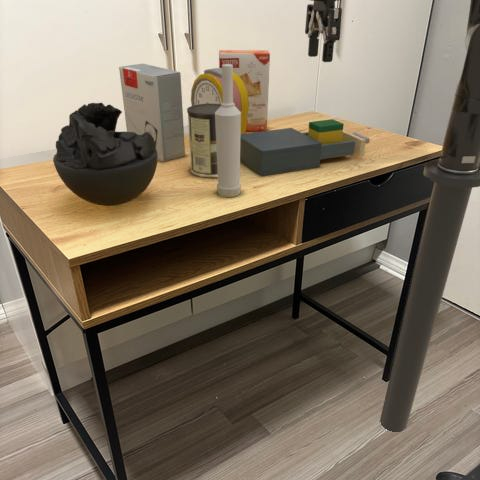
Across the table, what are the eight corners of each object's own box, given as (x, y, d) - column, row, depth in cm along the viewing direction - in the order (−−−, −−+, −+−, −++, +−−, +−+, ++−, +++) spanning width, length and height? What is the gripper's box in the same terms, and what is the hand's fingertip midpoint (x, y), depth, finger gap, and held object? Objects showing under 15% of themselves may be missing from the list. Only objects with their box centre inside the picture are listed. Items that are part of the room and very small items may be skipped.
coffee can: (234, 164, 125) (234, 103, 117) (231, 178, 117) (231, 114, 109) (193, 163, 126) (190, 102, 118) (187, 177, 118) (183, 113, 109)
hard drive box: (127, 149, 135) (117, 66, 124) (151, 143, 140) (143, 62, 128) (162, 162, 126) (155, 74, 115) (186, 156, 131) (181, 70, 119)
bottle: (245, 194, 109) (246, 65, 94) (224, 199, 107) (221, 68, 92) (233, 187, 113) (232, 62, 98) (212, 191, 110) (208, 64, 96)
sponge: (330, 143, 133) (332, 119, 129) (341, 148, 129) (343, 123, 126) (307, 146, 130) (309, 122, 127) (317, 151, 127) (319, 126, 123)
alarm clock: (191, 138, 144) (187, 66, 133) (213, 132, 148) (211, 63, 138) (225, 149, 135) (224, 74, 124) (248, 143, 139) (249, 70, 129)
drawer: (347, 139, 139) (348, 124, 137) (377, 153, 129) (379, 137, 127) (286, 147, 133) (287, 132, 131) (313, 163, 123) (315, 147, 121)
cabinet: (290, 150, 135) (291, 127, 131) (319, 167, 124) (321, 142, 120) (235, 157, 129) (235, 134, 126) (261, 176, 118) (262, 151, 115)
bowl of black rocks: (134, 178, 117) (123, 90, 106) (179, 206, 104) (172, 109, 93) (49, 198, 107) (27, 103, 96) (86, 231, 94) (66, 126, 83)
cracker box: (220, 132, 149) (218, 52, 136) (219, 126, 153) (218, 49, 141) (267, 132, 149) (270, 52, 137) (266, 126, 154) (268, 49, 142)
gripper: (357, -26, 102) (347, 63, 112) (329, -27, 114) (322, 54, 123) (323, -26, 101) (316, 64, 110) (297, -27, 112) (293, 55, 121)
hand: (319, 59), depth 117 cm, fingers open, 8 cm apart
